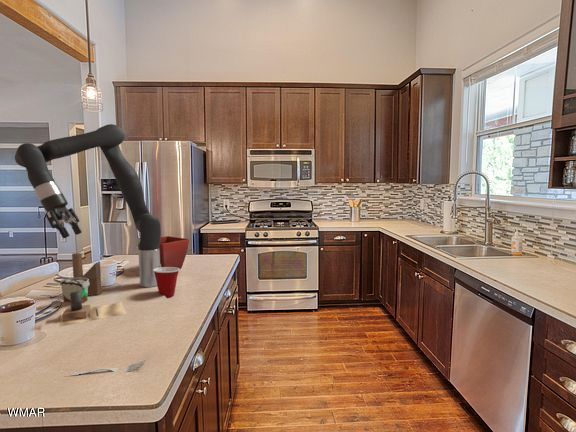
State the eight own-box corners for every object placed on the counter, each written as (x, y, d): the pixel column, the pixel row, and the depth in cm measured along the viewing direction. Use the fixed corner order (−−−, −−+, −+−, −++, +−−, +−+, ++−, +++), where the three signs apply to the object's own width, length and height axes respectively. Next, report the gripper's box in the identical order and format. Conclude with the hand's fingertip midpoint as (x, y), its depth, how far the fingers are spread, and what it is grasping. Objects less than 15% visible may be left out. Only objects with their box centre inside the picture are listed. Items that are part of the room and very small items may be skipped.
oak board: (122, 305, 134) (122, 302, 134) (127, 317, 123) (126, 313, 122) (61, 316, 124) (61, 312, 124) (60, 330, 112) (60, 326, 112)
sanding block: (90, 311, 125) (89, 288, 124) (86, 318, 118) (84, 294, 117) (68, 313, 122) (66, 290, 122) (62, 321, 116) (61, 296, 115)
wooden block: (97, 295, 147) (95, 254, 145) (72, 295, 147) (69, 254, 145) (102, 292, 151) (99, 252, 149) (77, 292, 150) (74, 252, 148)
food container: (98, 302, 138) (96, 278, 137) (84, 308, 132) (83, 282, 131) (75, 299, 142) (73, 275, 141) (61, 304, 136) (59, 279, 135)
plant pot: (190, 267, 194) (190, 238, 193) (162, 275, 178) (161, 243, 176) (168, 263, 204) (167, 235, 203) (140, 270, 188) (138, 240, 187)
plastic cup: (186, 293, 149) (185, 266, 148) (167, 301, 139) (166, 272, 138) (167, 290, 154) (166, 264, 152) (148, 297, 144) (147, 269, 143)
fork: (45, 376, 86) (44, 369, 86) (147, 365, 92) (146, 358, 92) (38, 383, 83) (38, 376, 83) (144, 371, 89) (144, 364, 88)
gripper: (48, 192, 119) (71, 234, 121) (71, 191, 133) (91, 228, 135) (28, 202, 119) (52, 243, 121) (53, 199, 133) (74, 236, 135)
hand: (73, 235), depth 128 cm, fingers open, 8 cm apart
